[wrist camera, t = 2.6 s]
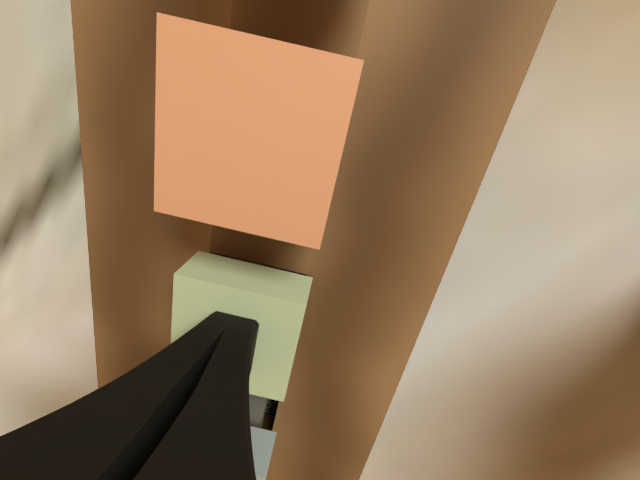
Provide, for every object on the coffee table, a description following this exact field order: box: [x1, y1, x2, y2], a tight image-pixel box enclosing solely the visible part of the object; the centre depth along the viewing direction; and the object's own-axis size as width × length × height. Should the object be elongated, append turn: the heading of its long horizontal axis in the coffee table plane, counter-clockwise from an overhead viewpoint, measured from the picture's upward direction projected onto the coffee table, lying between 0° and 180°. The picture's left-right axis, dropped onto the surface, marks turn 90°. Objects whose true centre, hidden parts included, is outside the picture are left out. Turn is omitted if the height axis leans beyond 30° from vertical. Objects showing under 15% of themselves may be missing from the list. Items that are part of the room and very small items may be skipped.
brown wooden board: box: [71, 0, 556, 480], centre depth 11 cm, size 12×25×2 cm, turn 168°
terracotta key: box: [154, 12, 364, 250], centre depth 8 cm, size 4×4×4 cm
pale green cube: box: [171, 251, 313, 402], centre depth 11 cm, size 4×4×4 cm
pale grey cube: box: [249, 394, 277, 480], centre depth 13 cm, size 4×4×4 cm
